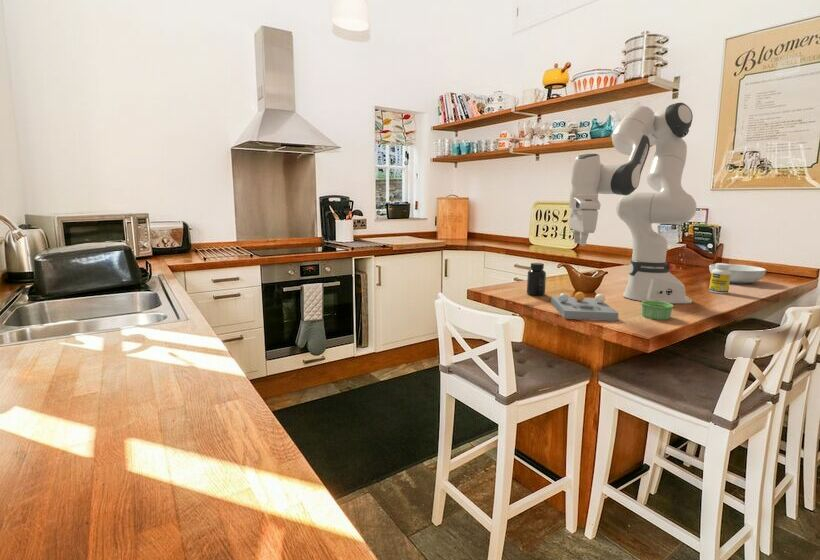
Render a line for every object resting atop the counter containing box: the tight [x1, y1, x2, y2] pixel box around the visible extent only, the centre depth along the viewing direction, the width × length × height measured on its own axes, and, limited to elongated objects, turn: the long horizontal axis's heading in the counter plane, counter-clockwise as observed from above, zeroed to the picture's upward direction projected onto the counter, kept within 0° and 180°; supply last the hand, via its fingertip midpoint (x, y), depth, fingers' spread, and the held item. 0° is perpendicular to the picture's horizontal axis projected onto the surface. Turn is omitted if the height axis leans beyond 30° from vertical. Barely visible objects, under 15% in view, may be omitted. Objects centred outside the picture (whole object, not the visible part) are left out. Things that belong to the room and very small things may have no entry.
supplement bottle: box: [526, 262, 547, 297], centre depth 170 cm, size 7×7×12 cm
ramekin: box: [640, 301, 674, 321], centre depth 141 cm, size 9×9×4 cm
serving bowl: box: [708, 263, 767, 285], centre depth 202 cm, size 21×21×7 cm
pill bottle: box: [708, 262, 731, 295], centre depth 179 cm, size 6×6×12 cm
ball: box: [574, 291, 586, 301], centre depth 150 cm, size 3×3×3 cm
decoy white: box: [594, 293, 606, 303], centre depth 148 cm, size 3×3×3 cm
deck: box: [550, 296, 619, 322], centre depth 147 cm, size 20×16×2 cm
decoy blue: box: [557, 292, 570, 303], centre depth 148 cm, size 3×3×3 cm
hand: (579, 244), depth 152 cm, fingers open, 6 cm apart
